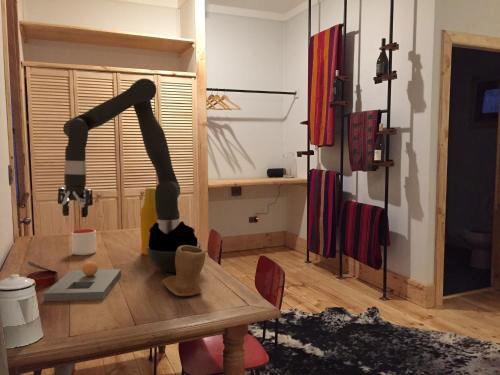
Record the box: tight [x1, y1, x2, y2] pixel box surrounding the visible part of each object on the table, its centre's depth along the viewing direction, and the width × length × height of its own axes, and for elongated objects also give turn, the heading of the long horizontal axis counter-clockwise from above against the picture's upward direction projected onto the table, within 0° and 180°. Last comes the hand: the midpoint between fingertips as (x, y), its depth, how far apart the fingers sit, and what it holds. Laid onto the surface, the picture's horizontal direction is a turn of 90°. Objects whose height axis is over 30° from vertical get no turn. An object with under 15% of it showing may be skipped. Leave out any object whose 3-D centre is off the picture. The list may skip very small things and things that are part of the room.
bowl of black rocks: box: [147, 220, 201, 273], centre depth 160 cm, size 20×20×19 cm
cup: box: [71, 228, 97, 256], centre depth 188 cm, size 10×10×10 cm
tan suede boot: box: [162, 245, 206, 297], centre depth 139 cm, size 15×12×15 cm
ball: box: [81, 261, 99, 276], centre depth 148 cm, size 5×5×5 cm
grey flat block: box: [43, 268, 122, 302], centre depth 143 cm, size 18×24×2 cm
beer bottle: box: [139, 187, 157, 256], centre depth 187 cm, size 9×9×29 cm
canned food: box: [26, 261, 59, 288], centre depth 149 cm, size 11×10×10 cm
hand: (75, 216), depth 158 cm, fingers open, 8 cm apart
